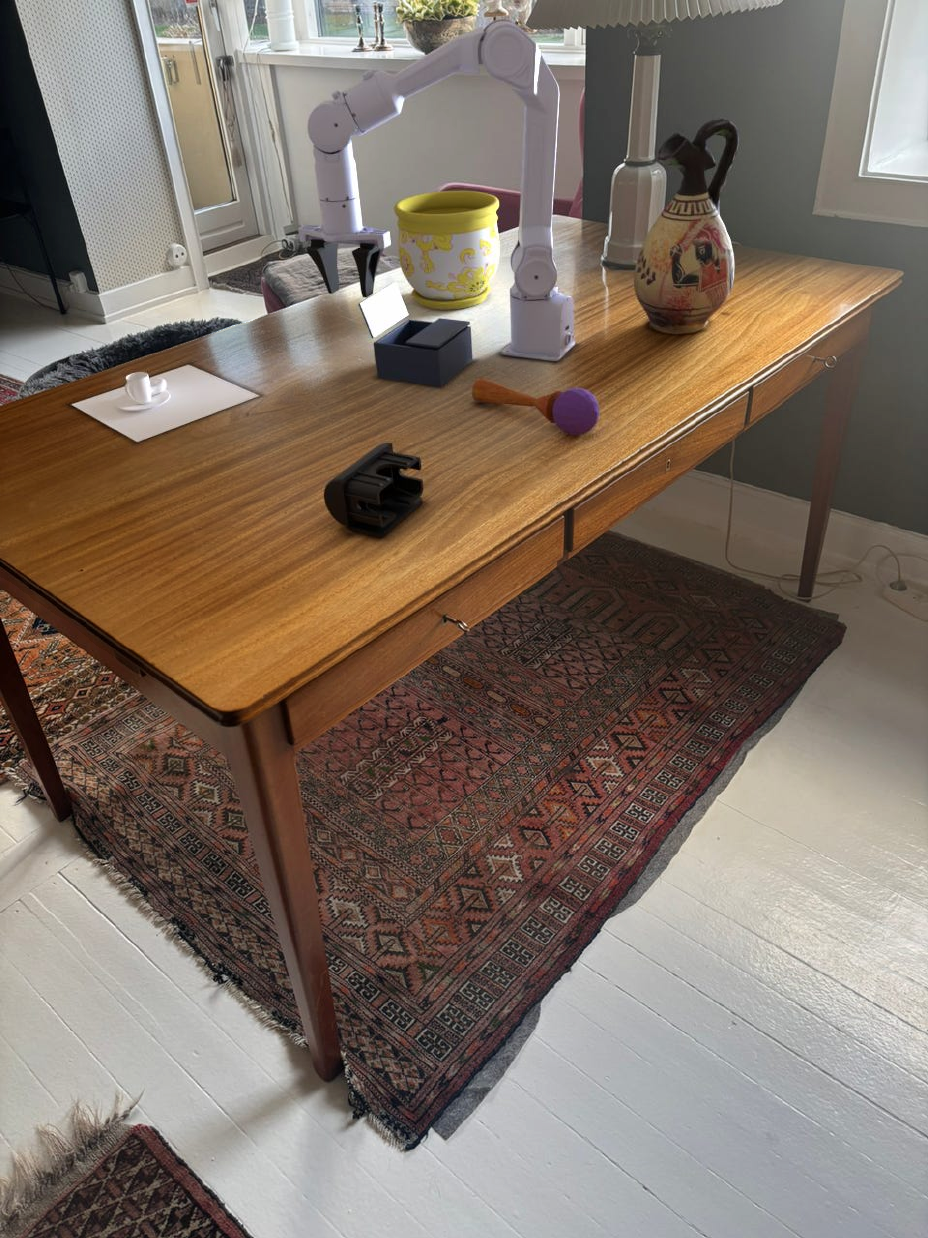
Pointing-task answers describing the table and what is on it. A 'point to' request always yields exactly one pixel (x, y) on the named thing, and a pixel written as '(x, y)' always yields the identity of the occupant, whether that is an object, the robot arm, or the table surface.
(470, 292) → the flowerpot
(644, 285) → the ceramic jug
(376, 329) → the flap
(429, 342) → the carton
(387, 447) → the end cap
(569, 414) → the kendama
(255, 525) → the table surface
